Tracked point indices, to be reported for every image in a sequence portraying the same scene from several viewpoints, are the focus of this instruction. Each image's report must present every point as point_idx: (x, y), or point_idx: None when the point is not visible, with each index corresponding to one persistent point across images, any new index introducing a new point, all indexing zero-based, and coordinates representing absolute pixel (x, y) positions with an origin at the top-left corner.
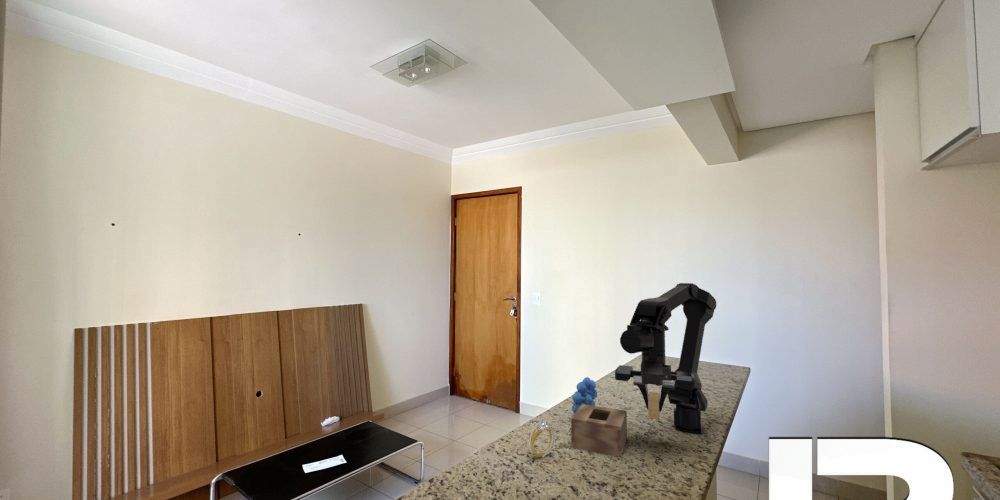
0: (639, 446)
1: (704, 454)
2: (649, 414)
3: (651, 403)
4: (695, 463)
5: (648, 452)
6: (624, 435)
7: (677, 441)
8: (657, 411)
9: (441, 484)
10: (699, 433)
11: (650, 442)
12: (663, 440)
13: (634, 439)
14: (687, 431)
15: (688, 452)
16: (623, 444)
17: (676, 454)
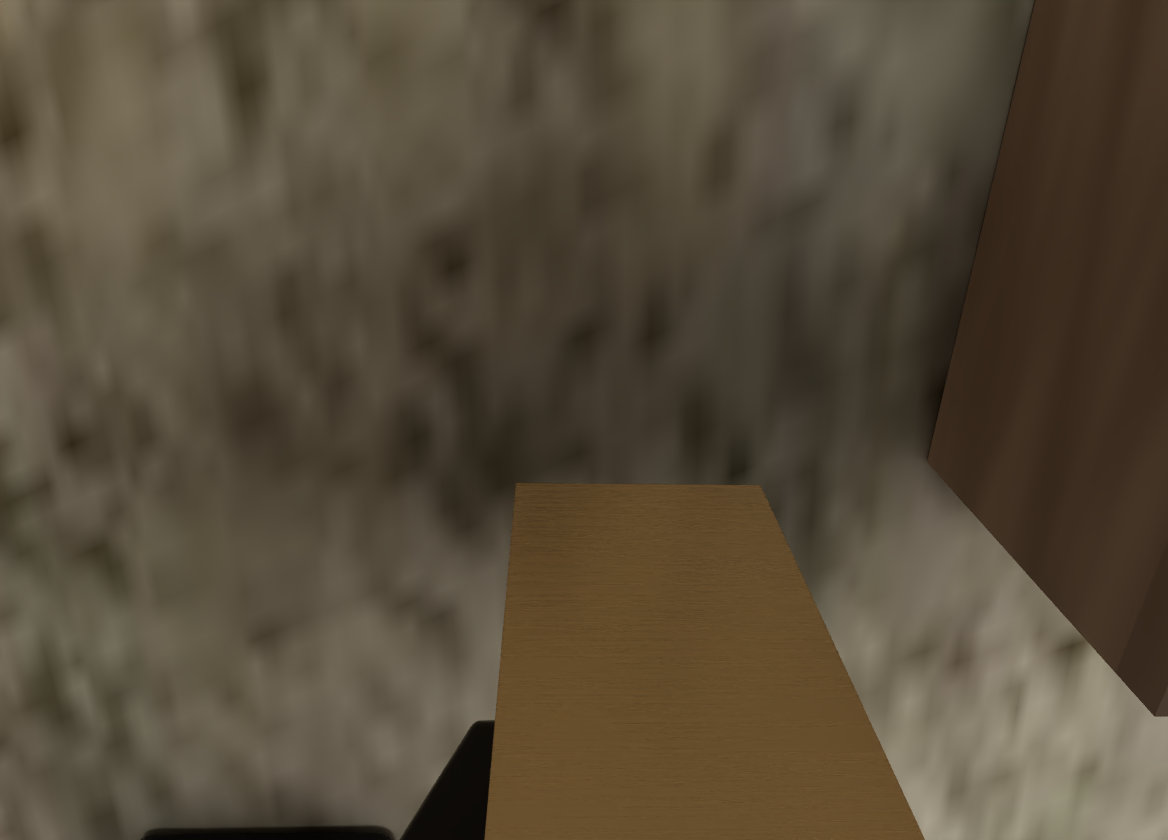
0: (787, 265)
1: (6, 369)
2: (751, 517)
3: (767, 759)
4: (43, 23)
5: (674, 117)
6: (1064, 239)
7: (350, 591)
8: (550, 586)
9: None
10: (158, 837)
11: (648, 442)
12: (502, 556)
13: (838, 448)
14: (276, 836)
15: (189, 345)
16: (1050, 85)
17: (318, 218)
